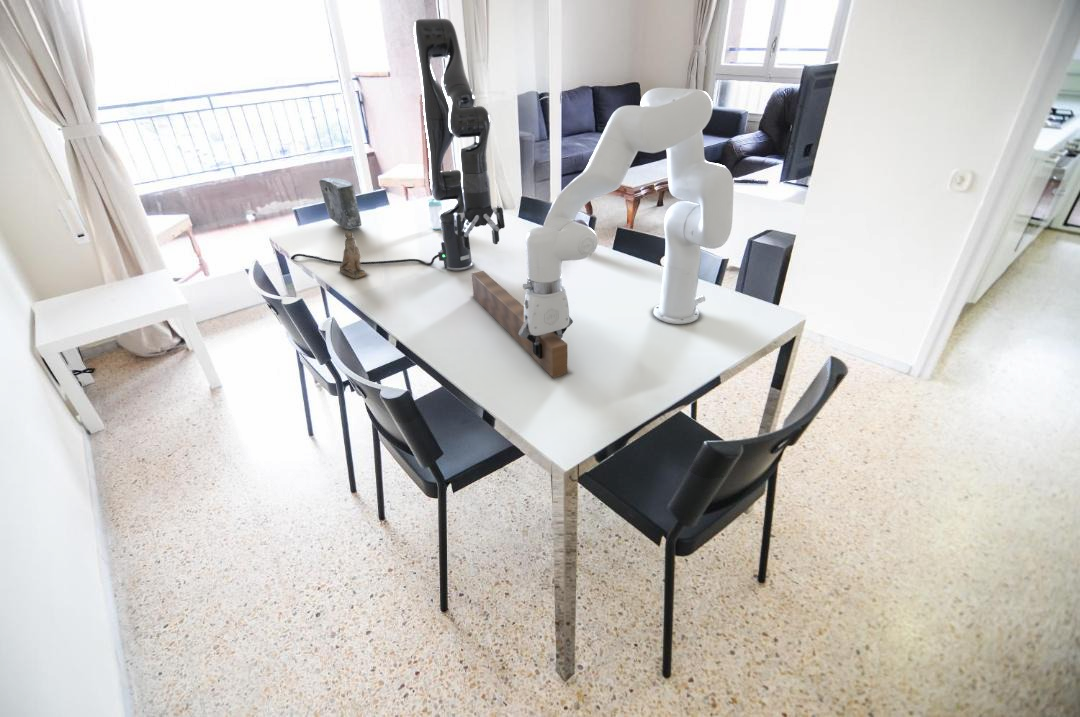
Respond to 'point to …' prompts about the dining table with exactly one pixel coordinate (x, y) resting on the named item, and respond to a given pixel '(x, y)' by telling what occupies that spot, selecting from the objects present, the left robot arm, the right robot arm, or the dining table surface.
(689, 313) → the right robot arm
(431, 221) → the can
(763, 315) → the dining table surface
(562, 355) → the post
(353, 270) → the brown carved statuette
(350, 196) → the concrete block
